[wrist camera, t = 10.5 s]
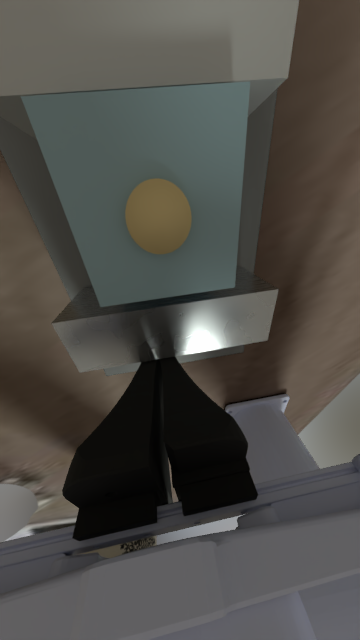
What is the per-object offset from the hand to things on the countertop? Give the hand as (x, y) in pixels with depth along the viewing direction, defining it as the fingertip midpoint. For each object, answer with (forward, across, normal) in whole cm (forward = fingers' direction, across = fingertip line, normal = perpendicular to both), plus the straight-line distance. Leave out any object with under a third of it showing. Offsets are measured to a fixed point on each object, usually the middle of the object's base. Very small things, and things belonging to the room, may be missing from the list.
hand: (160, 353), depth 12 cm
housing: (+2, -1, -8) cm, 8 cm away
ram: (+2, -1, -3) cm, 4 cm away
